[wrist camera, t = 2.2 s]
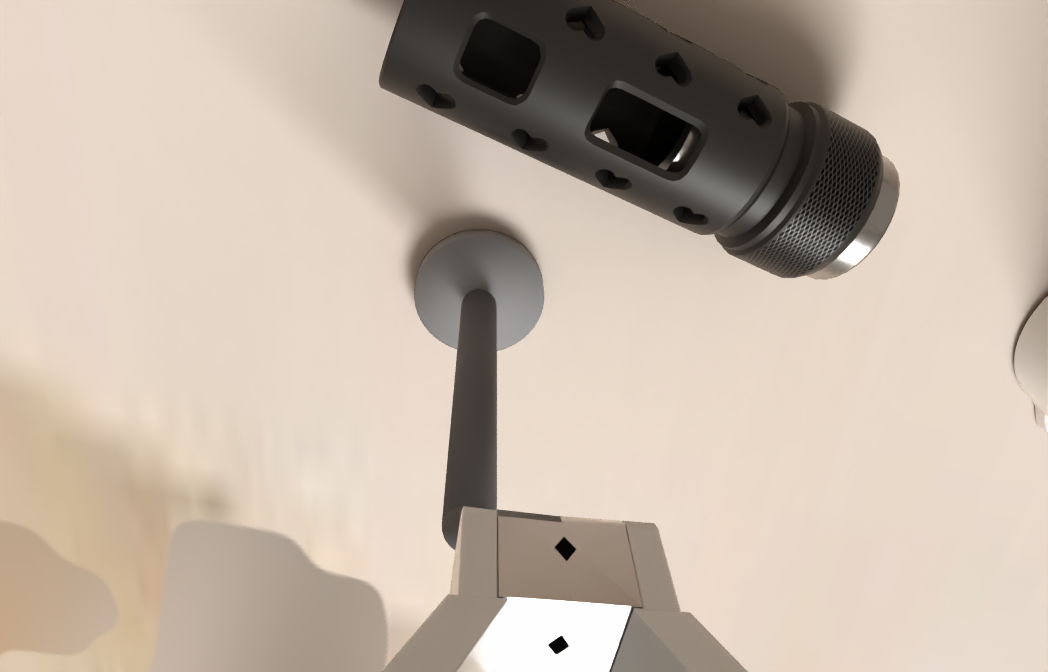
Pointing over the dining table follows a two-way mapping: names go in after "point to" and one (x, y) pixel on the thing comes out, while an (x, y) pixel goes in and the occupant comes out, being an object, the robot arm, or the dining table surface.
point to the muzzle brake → (652, 125)
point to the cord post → (476, 348)
